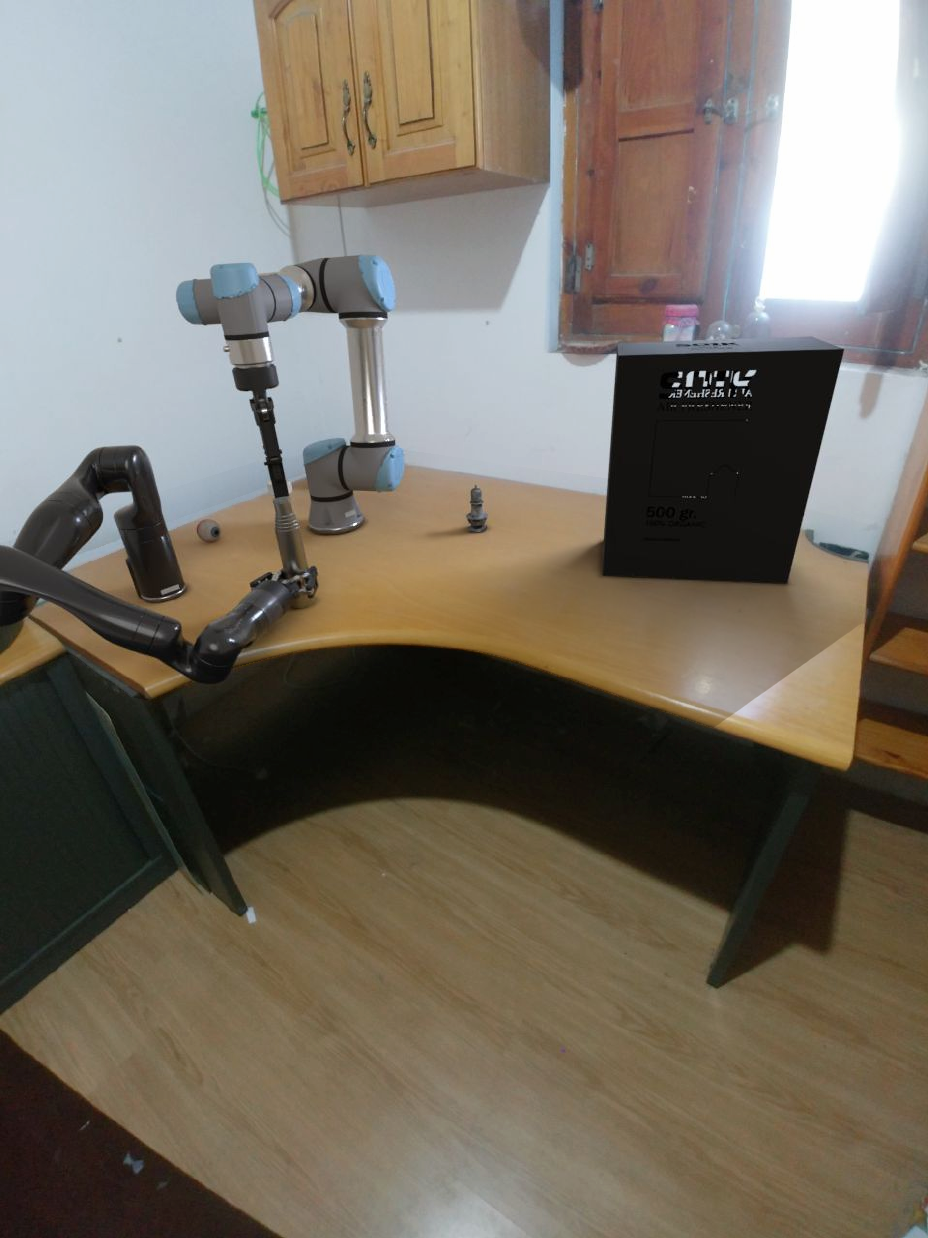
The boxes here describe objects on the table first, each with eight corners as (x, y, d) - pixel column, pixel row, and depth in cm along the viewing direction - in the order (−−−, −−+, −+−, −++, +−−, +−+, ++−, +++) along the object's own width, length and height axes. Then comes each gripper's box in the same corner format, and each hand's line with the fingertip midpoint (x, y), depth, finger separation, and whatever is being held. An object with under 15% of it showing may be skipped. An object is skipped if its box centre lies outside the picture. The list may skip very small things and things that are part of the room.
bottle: (286, 605, 129) (262, 500, 118) (302, 595, 133) (281, 492, 121) (303, 610, 127) (280, 503, 115) (319, 600, 131) (299, 495, 119)
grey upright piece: (486, 532, 159) (485, 488, 152) (464, 532, 160) (462, 487, 154) (490, 524, 163) (488, 481, 157) (469, 523, 165) (466, 480, 159)
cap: (296, 492, 118) (294, 480, 116) (275, 498, 115) (272, 486, 114) (286, 487, 121) (284, 476, 120) (265, 492, 118) (262, 481, 117)
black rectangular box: (766, 545, 143) (811, 336, 120) (787, 583, 126) (844, 348, 103) (603, 539, 150) (617, 342, 128) (602, 575, 133) (618, 355, 111)
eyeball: (210, 546, 160) (204, 525, 157) (195, 542, 163) (189, 521, 160) (228, 538, 164) (223, 518, 161) (213, 535, 167) (208, 514, 164)
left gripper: (234, 622, 118) (276, 583, 132) (301, 627, 115) (336, 586, 129) (224, 587, 114) (268, 551, 128) (293, 592, 111) (331, 554, 125)
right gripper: (229, 361, 112) (258, 483, 124) (232, 373, 98) (264, 509, 110) (271, 357, 114) (295, 477, 126) (279, 368, 100) (305, 503, 112)
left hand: (302, 569), depth 129 cm, fingers closed on bottle, 5 cm apart
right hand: (280, 492), depth 118 cm, fingers closed on cap, 4 cm apart
